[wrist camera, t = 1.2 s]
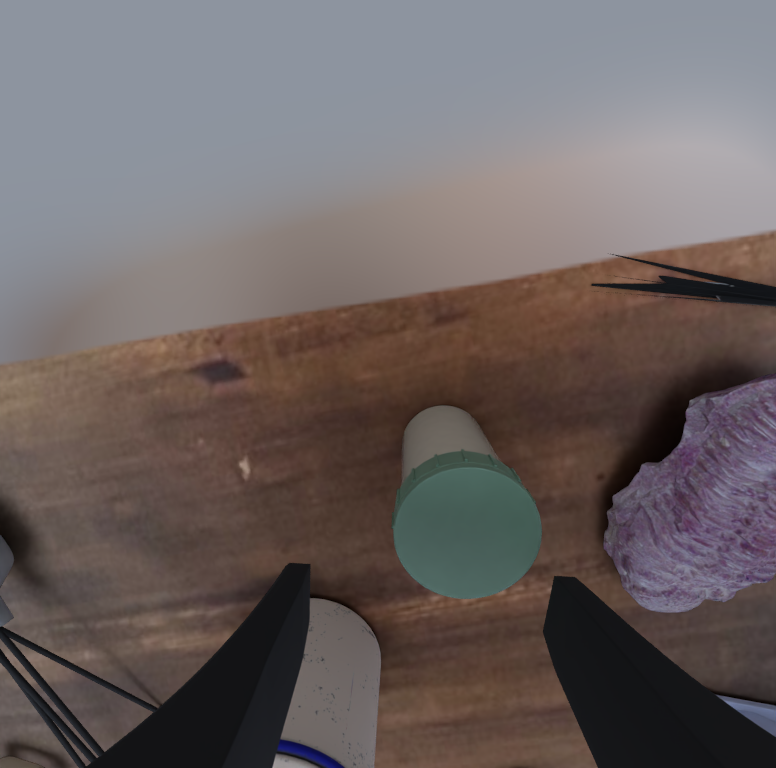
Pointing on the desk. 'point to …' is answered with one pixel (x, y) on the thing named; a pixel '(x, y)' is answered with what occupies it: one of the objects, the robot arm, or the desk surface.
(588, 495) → the desk surface
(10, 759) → the unicorn
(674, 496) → the fossil
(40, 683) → the reed diffuser
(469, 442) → the jar
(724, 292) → the feather
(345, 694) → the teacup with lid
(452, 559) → the lid
